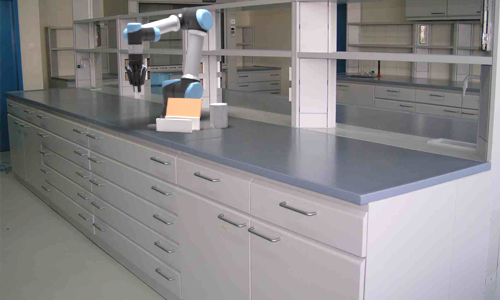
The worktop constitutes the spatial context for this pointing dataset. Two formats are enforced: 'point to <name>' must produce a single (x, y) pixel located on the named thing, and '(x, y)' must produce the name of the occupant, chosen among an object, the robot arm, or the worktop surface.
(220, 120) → the grey concrete cylinder
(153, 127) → the grey round puck
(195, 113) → the duct cover
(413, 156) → the worktop surface
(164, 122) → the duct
